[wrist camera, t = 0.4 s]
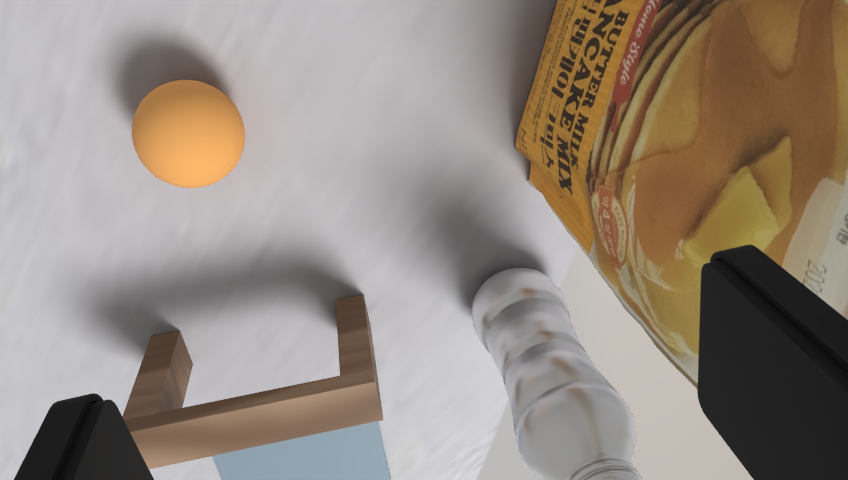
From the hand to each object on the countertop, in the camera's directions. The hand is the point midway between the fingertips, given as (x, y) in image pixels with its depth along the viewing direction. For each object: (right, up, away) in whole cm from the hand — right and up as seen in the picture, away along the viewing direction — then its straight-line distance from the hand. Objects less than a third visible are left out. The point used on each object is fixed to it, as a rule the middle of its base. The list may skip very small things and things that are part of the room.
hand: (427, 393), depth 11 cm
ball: (-13, +8, +28) cm, 32 cm away
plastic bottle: (+6, -2, +40) cm, 40 cm away
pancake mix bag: (+10, +14, +32) cm, 37 cm away
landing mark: (-10, -16, +44) cm, 48 cm away
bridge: (-11, -4, +38) cm, 40 cm away
